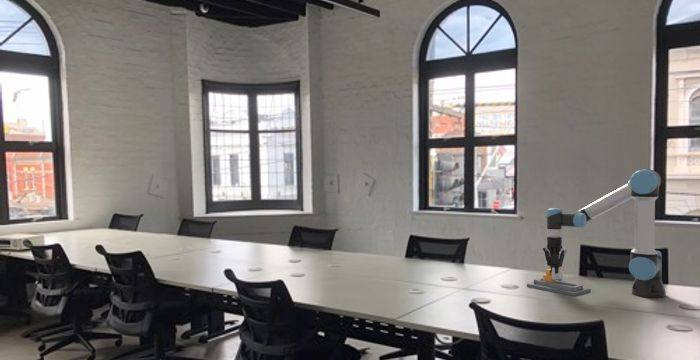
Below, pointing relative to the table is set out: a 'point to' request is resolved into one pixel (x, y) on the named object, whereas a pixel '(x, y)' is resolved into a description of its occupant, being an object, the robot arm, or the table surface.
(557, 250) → the robot arm
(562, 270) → the ink box
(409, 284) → the table surface
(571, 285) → the panel
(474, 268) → the table surface
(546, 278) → the toggle
